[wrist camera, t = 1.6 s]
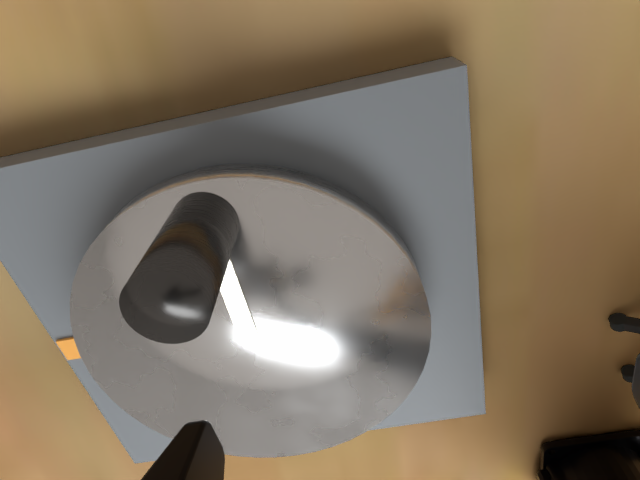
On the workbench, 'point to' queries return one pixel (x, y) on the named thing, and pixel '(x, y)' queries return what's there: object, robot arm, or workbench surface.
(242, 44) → the workbench surface
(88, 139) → the stand plate
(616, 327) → the robot dog
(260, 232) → the dial
